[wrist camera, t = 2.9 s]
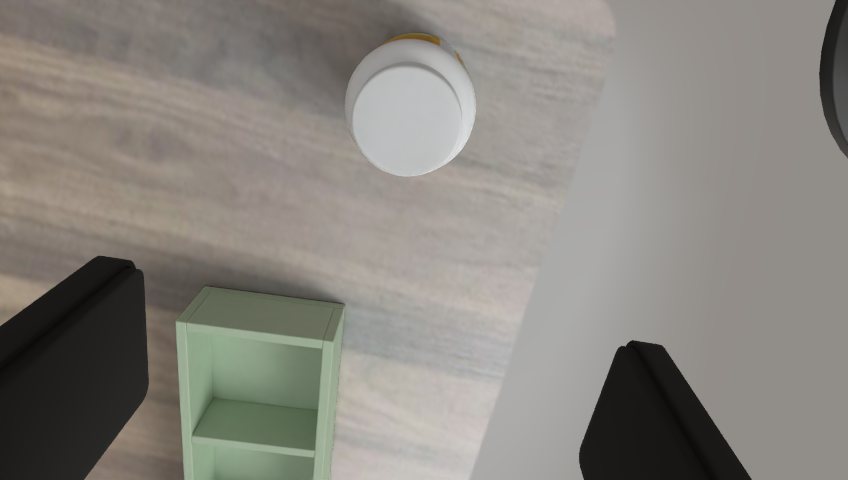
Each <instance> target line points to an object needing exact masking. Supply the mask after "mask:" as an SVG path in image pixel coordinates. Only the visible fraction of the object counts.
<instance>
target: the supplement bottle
mask: <svg viewBox="0 0 848 480" xmlns="http://www.w3.org/2000/svg"><path fill="white" fill-rule="evenodd" d="M475 116H476V99H475V92H474V88H473V85H472V82H471V79H470V77H469V75H468V73H467V70H466V68H465V66H464V63H463V61H462V60H461V58H460V57H459V55H458V54H457V53H456V51H455V50H454V49H453V48H452V47H451V46H450V45H449V44H447V43H446V42H444V41H443V40H441V39H439V38H437V37H435V36H432V35H429V34H425V33H406V34H401V35H398V36H396V37H393V38H391V39H389V40H388V41H386V42H385V43H383V44H382V45H380V46H379V47H377V48H376V49H374V50H373V51H372V52H370V53H369V54H368V55H367V56H366V57H365V58H364V59H363V60H362V61H361V62H360V63H359V64H358V66H357V68H356V69H355V71H354V72H353V74H352V76H351V78H350V81H349V84H348V87H347V91H346V97H345V117H346V122H347V125H348V128H349V131H350V134H351V136H352V138H353V140H354V142H355V143H356V145H357V146H358V147H359V149H360V151H361V152H362V154H363V155H364V156H365V157H366V159H368V160H369V161H370V162H371V163H372V164H373V165H374V166H376V167H377V168H379V169H380V170H382V171H384V172H387V173H389V174H393V175H397V176H405V177H411V176H418V175H423V174H426V173H428V172H430V171H433V170H435V169H438V168H440V167H441V166H443V165H445V164H446V163H448V162H449V161H450V160H452V159H453V158H454V157H455V156H456V155H457V154H458V153H459V152H460V151H461V149H462V148H463V147H464V146H465V144H466V142H467V140H468V138H469V136H470V134H471V131H472V128H473V125H474V121H475Z"/></svg>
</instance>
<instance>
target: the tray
mask: <svg viewBox="0 0 848 480" xmlns="http://www.w3.org/2000/svg"><path fill="white" fill-rule="evenodd" d="M344 313H345V304H338V303H330V302H323V301H315V300H308V299H300V298H292V297H285V296H277V295H270V294H262V293H254V292H247V291H239V290H232V289H224V288H216V287H209V286H205V287H204V288H203V289H202V290H201V291H200V293H199V294H198V295H197V296H196V297H195V299H194V300H193V301H192V302H191V303H190V304H189V306H188V307H187V308H186V309H185V310H184V312H183V313H182V314H181V315H180V316H179V318H178V319H177V320H176V321H175V325H176V342H177V360H178V378H179V395H180V413H181V431H182V448H183V466H184V480H329V479H330V468H331V457H332V446H333V435H334V424H335V413H336V402H337V390H338V379H339V368H340V357H341V346H342V335H343V324H344Z"/></svg>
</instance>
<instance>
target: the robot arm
mask: <svg viewBox="0 0 848 480" xmlns="http://www.w3.org/2000/svg"><path fill="white" fill-rule="evenodd" d="M148 384H149V378H148V356H147V335H146V313H145V292H144V276H143V272H142V271H141V270H139V269H136V267H135V265H134V263H133V262H132V261H131V260H125V259H118V258H112V257H106V256H97V257H95V258H94V259H92V260H91V261H89V262H88V263H87V264H85V265H84V266H83V267H81V268H80V269H78V270H77V271H76V272H74V273H73V274H72V275H70V276H69V277H67V278H66V279H65V280H63V281H62V282H61V283H59V284H58V285H56V286H55V287H54V288H52V289H51V290H50V291H48V292H47V293H45V294H44V295H43V296H41V297H40V298H39V299H37V300H36V301H34V302H33V303H32V304H30V305H29V306H28V307H26V308H25V309H23V310H22V311H21V312H19V313H18V314H17V315H15V316H14V317H12V318H11V319H10V320H8V321H7V322H6V323H4V324H3V325H1V326H0V480H84V479H85V478H86V476H87V475H88V474H89V472H90V471H91V470H92V468H93V467H94V466H95V464H96V463H97V462H98V460H99V459H100V458H101V456H102V455H103V454H104V452H105V451H106V450H107V448H108V447H109V446H110V444H111V443H112V442H113V440H114V439H115V438H116V436H117V435H118V434H119V432H120V431H121V430H122V428H123V427H124V426H125V424H126V423H127V422H128V420H129V419H130V418H131V416H132V415H133V414H134V412H135V411H136V410H137V408H138V407H139V406H140V404H141V403H142V402H143V400H144V398H145V396H146V393H147V390H148ZM579 463H580V468H581V471H582V474H583V478H584V480H751V478H750V476H749V475H748V473H747V472H746V470H745V469H744V467H743V466H742V464H741V463H740V461H739V460H738V458H737V457H736V455H735V454H734V452H733V451H732V449H731V448H730V446H729V445H728V443H727V441H726V440H725V439H724V437H723V435H722V434H721V433H720V431H719V430H718V428H717V426H716V425H715V424H714V422H713V420H712V419H711V417H710V416H709V415H708V413H707V411H706V410H705V408H704V407H703V405H702V404H701V402H700V401H699V399H698V398H697V396H696V395H695V393H694V392H693V390H692V389H691V387H690V386H689V384H688V383H687V381H686V380H685V378H684V377H683V375H682V374H681V372H680V371H679V369H678V368H677V366H676V365H675V363H674V362H673V360H672V359H671V357H670V356H669V354H668V353H667V351H666V350H665V348H664V347H663V346H662V345H658V344H652V343H646V342H640V341H633V340H632V341H630V342H629V343H628V344H627V345H626V347H625V346H621V347H619V348H618V350H617V352H616V354H615V356H614V359H613V362H612V364H611V367H610V370H609V373H608V375H607V378H606V380H605V383H604V386H603V388H602V391H601V394H600V397H599V399H598V402H597V404H596V407H595V410H594V413H593V415H592V418H591V421H590V423H589V426H588V429H587V431H586V434H585V437H584V439H583V442H582V444H581V447H580V453H579Z"/></svg>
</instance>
